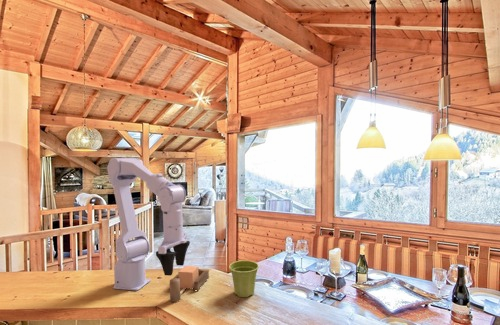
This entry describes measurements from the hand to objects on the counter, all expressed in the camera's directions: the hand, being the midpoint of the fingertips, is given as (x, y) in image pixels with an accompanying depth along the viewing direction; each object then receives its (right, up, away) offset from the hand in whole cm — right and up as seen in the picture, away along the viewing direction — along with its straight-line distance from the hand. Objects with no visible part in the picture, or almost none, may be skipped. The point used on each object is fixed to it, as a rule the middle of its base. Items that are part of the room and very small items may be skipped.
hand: (174, 269), depth 85 cm
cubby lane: (+2, -9, +11) cm, 14 cm away
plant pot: (+21, -9, +3) cm, 23 cm away
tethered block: (+1, -9, +5) cm, 11 cm away
